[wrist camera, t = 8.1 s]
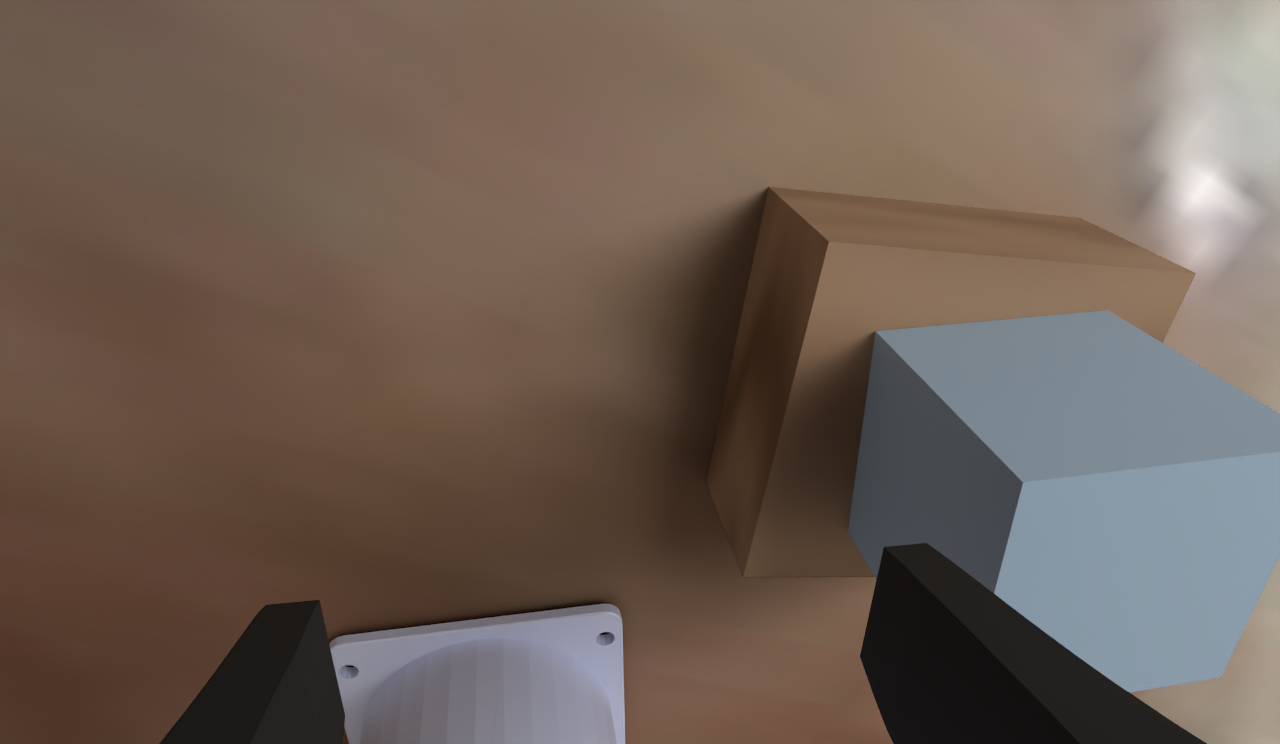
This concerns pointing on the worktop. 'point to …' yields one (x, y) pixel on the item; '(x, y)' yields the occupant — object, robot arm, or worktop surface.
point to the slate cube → (1077, 484)
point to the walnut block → (844, 338)
